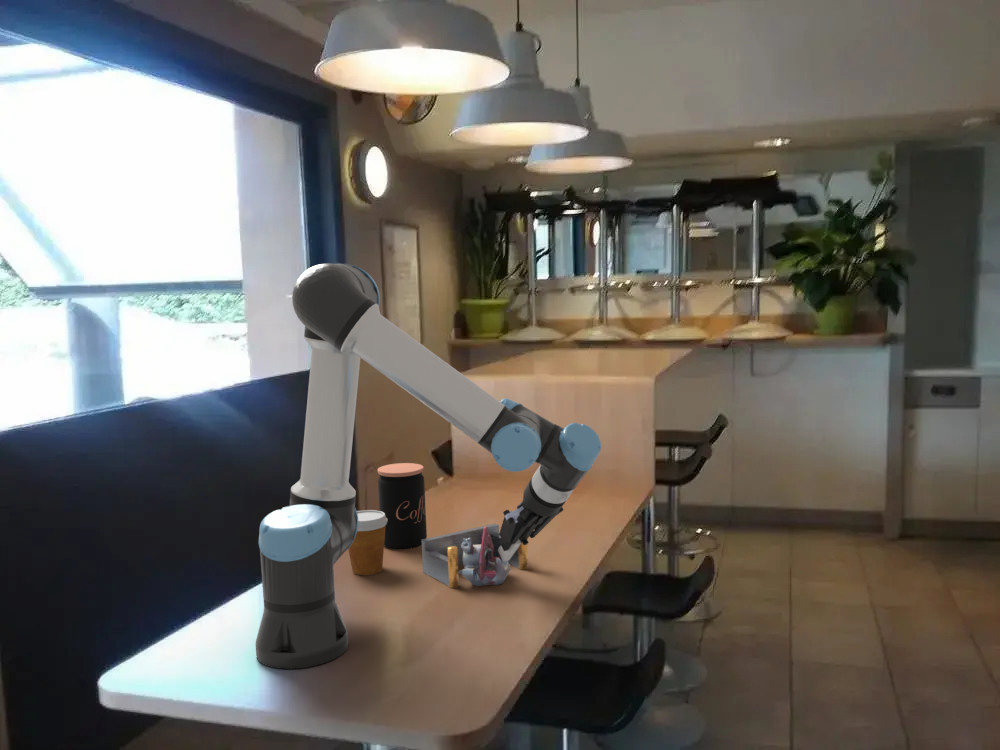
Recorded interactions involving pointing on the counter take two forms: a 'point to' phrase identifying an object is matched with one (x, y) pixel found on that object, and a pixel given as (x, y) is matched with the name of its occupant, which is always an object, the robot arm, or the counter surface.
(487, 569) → the brake caliper
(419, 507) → the coffee jar
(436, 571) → the bracket
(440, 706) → the counter surface
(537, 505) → the robot arm
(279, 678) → the counter surface
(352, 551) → the disposable coffee cup
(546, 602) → the counter surface
